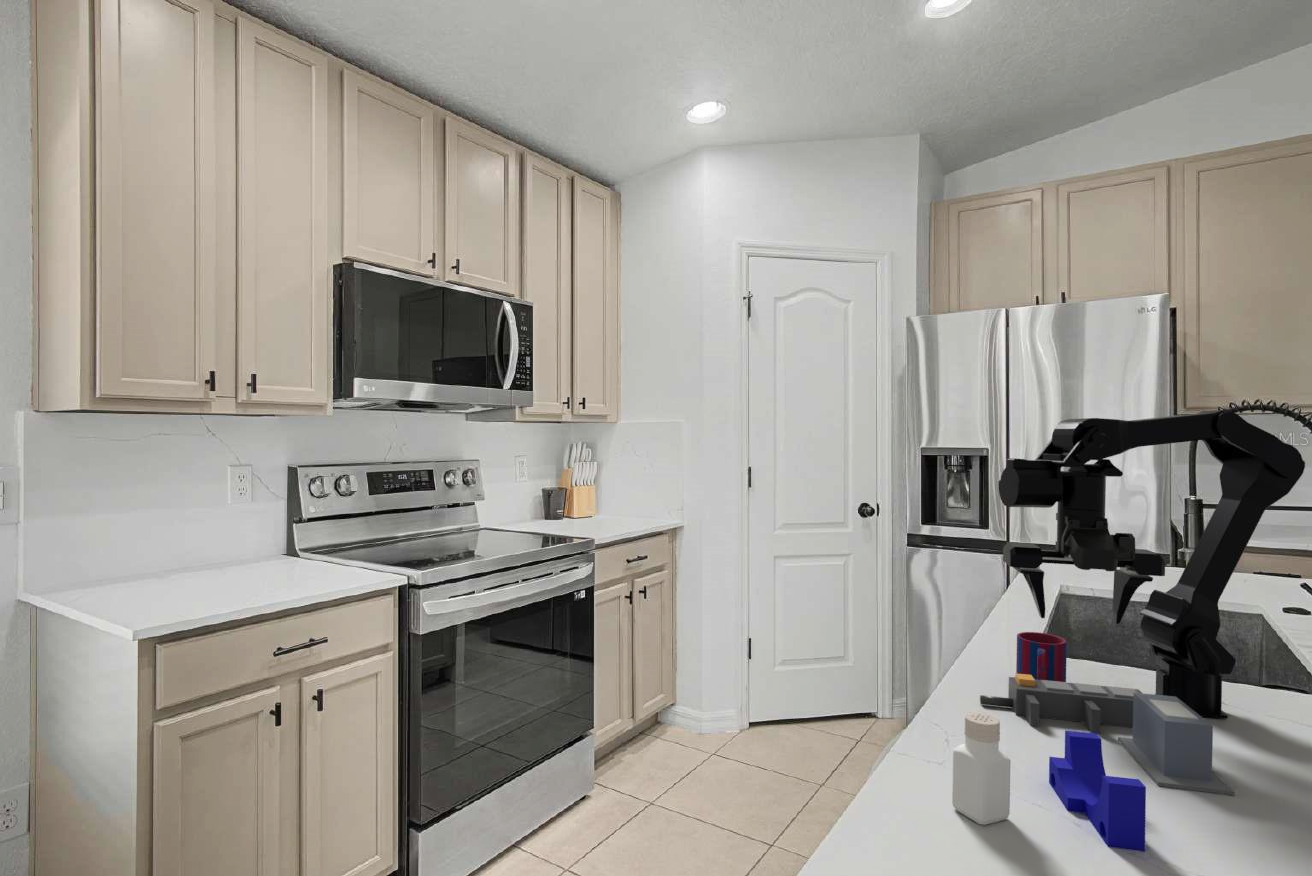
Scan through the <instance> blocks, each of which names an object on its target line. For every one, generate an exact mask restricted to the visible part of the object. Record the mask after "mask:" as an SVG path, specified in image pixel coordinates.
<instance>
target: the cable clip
mask: <svg viewBox="0 0 1312 876" xmlns="http://www.w3.org/2000/svg"><path fill="white" fill-rule="evenodd" d="M1103 759H1104V758H1103V749H1102V738H1101V737H1100V736H1099V734H1098V733H1091V732H1088V731H1087V732H1086V731H1085V732H1084V731H1076V730H1075V731H1074V730H1066V729H1065V730H1064V757H1057V756H1049V760H1048V761H1049V765H1048V767H1049V769H1048V783H1049V785H1050V787H1051V788H1052V790H1053V791H1054V793H1055V794H1056V795H1057V797H1058V799H1059V801H1060V802H1061V804H1063V806H1064V808H1065V810H1066V811H1067V812H1072V813H1080V814H1081V813H1082V814H1084V816H1086V818H1087V819H1088V821H1089V822H1090V824H1091V825H1092V826H1093V828H1094V829H1095V830H1096V832H1097V834H1098V835H1099V837H1101V839H1102V841H1103V842H1104V844H1105V845H1106V847H1107V848H1114V849H1123V850H1129V851H1137V852H1146V814H1147V813H1146V803H1147V802H1146V801H1147V796H1146V795H1147V786H1145V784H1143V782H1142V781H1141V780H1140V779H1139V778H1130V777H1119V776H1113V775H1112V776H1111V775H1107V774H1106V769H1105V765H1104V760H1103Z"/></svg>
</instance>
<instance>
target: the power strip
mask: <svg viewBox="0 0 1312 876" xmlns="http://www.w3.org/2000/svg"><path fill="white" fill-rule="evenodd" d="M1014 675H1015V676H1014V677H1013V676H1009V677H1008V692H1007V693H1008V697H1001V696H992V695H980V696H979V702H980V705H985V706H992V707H993V706H995V707H1003V708H1004V707H1005V708H1011V709H1012V710H1013V712H1014V714H1015V715H1016V716H1024V718H1025V719H1026V721H1027V722H1028V724H1029V726H1030V727H1037V728H1039V727H1040V718H1041V719H1051V720H1060V721H1070V722H1077V721H1083V722H1084V723H1083V722H1082V723H1083V724H1084V725H1085V727H1086V728H1087V729H1088V731H1090V732H1089V733H1096V734H1097V735H1101V725H1105V726H1113V727H1126V728H1132V729H1133V695H1134V693H1143V692H1142V691H1141V690H1140V689H1138V688H1130V687H1129V688H1127V687H1120V686H1108V685H1099V684H1091V683H1090V684H1088V683H1078V682H1067V681H1066V682H1059V681H1048V680H1036V679H1034V678H1033V677H1032V675H1027V674H1017V673H1016V672H1015V673H1014Z"/></svg>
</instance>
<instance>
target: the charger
mask: <svg viewBox="0 0 1312 876" xmlns="http://www.w3.org/2000/svg"><path fill="white" fill-rule="evenodd" d="M1213 729H1214V725H1212V724H1211V723H1210V722H1208V721H1207V720H1206V719H1205V718H1204V717H1203V716H1200V715H1199V714H1197V713H1196V712H1195V711H1194V710H1192V709H1191V708H1190V707H1189V706H1187V705H1186V704H1185V703H1184V702H1182V701H1181V700H1180V699H1178V698H1177V697H1174V696H1164V695H1155V694H1154V693H1152V694H1151V693H1143V692H1142V693H1134V695H1133V728H1132V739H1133V743H1134V744H1135V745H1136V746H1137V747H1138V748H1139V749H1140V750H1141V751H1142V752H1143V753H1144V754H1145V755H1146V757H1147V758H1148V759H1149V760H1150V761H1151V762H1152V763H1153V764H1154V765H1155V766H1156V767H1157V768H1158V769H1159V771H1160V772H1161V773H1162V774H1163V775H1165V776H1173V777H1182V778H1190V779H1198V780H1206V781H1212V771H1213V748H1214V747H1213V740H1214V739H1213V738H1214V737H1213V736H1214V730H1213Z"/></svg>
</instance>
